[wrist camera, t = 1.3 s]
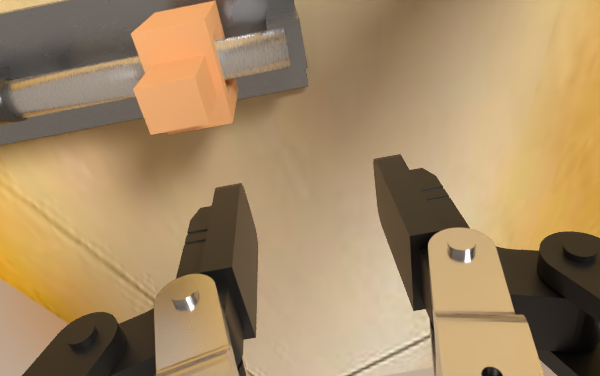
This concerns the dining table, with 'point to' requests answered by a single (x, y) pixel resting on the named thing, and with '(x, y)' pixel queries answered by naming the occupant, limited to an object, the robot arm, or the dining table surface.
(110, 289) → the dining table surface
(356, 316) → the dining table surface
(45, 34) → the pipe stand
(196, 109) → the collar
